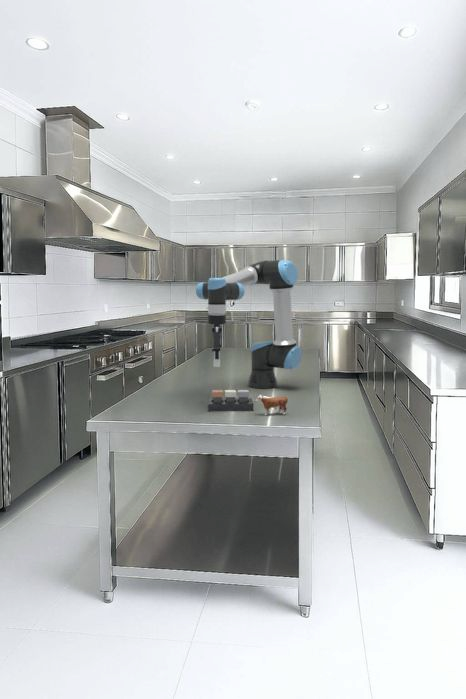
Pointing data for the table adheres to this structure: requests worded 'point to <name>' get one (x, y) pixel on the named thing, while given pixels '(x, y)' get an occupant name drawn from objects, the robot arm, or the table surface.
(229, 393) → the cream key
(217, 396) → the tan cube
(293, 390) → the table surface
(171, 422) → the table surface
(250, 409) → the keypad base
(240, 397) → the grey key
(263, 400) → the bull figurine
